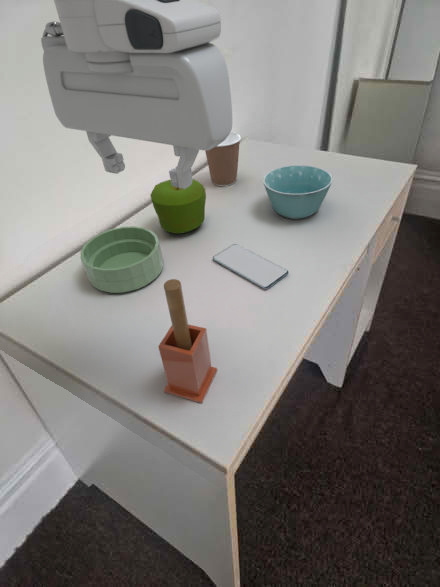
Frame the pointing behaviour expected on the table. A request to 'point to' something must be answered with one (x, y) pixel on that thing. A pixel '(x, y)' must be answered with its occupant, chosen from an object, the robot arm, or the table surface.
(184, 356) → the utensil holder
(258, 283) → the smartphone
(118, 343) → the table surface
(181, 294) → the stirring stick
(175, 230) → the apple
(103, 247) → the green round dish
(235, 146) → the coffee cup
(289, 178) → the bowl
